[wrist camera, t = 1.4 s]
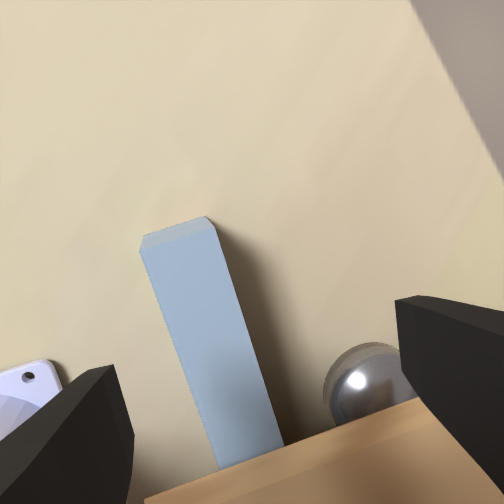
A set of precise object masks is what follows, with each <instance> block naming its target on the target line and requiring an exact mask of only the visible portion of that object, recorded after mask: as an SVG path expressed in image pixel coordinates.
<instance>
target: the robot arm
mask: <svg viewBox="0 0 504 504" xmlns="http://www.w3.org/2000/svg"><path fill="white" fill-rule="evenodd" d="M395 309H396V319H397V330H398V340H399V350H400V360H401V371H402V372H403V374H404V375H405V377H406V379H407V380H408V382H409V383H410V385H411V386H412V388H413V389H414V391H415V392H416V394H417V395H418V397H419V398H420V399H421V401H422V402H423V403H424V405H425V406H426V407H427V408H428V409H429V410H430V411H431V413H432V414H433V415H434V416H435V417H436V418H437V419H438V421H439V422H440V423H441V424H442V425H443V426H444V427H445V428H446V429H447V431H448V432H449V433H450V434H451V435H452V436H453V437H454V438H455V439H456V441H457V442H458V443H459V444H460V445H461V446H462V447H463V448H464V449H465V451H466V452H467V453H468V454H469V455H470V456H471V457H472V458H473V459H474V461H475V462H476V463H477V464H478V465H479V466H480V467H481V468H482V469H483V471H484V472H485V473H486V474H487V475H488V476H489V478H490V479H491V480H492V481H493V482H494V484H495V485H496V486H497V487H498V488H499V490H500V491H501V492H502V494H503V495H504V311H499V310H494V309H489V308H484V307H479V306H475V305H470V304H466V303H461V302H456V301H451V300H447V299H441V298H436V297H430V296H419V295H417V296H412V297H408V298H404V299H399V300H395ZM25 372H31V373H33V374H34V375H35V378H34V379H29V378H26V376H25V374H24V373H25ZM134 437H135V435H134V432H133V428H132V425H131V421H130V418H129V415H128V411H127V408H126V405H125V401H124V398H123V394H122V391H121V388H120V384H119V381H118V378H117V374H116V371H115V368H114V364H112V365H108V366H103V367H99V368H95V369H90V370H87V371H86V372H84V373H83V374H81V375H80V376H79V377H77V378H76V379H75V380H73V381H72V382H71V383H70V384H69V385H67V386H66V387H65V388H64V389H63V388H62V385H61V383H60V380H59V378H58V375H57V373H56V370H55V368H54V366H53V364H52V363H51V362H49V361H48V360H44V359H42V360H37V361H33V362H30V363H27V364H24V365H21V366H17V367H14V368H11V369H8V370H5V371H1V372H0V504H126V500H127V495H128V490H129V485H130V480H131V475H132V465H133V453H134Z"/></svg>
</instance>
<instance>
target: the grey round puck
mask: <svg viewBox="0 0 504 504" xmlns="http://www.w3.org/2000/svg"><path fill="white" fill-rule="evenodd" d="M417 397H418V395H417V394H416V392H415V391H414V389H413V388H412V386H411V385H410V383H409V382H408V380H407V379H406V377H405V375H404V374H403V372H402V371H401V360H400V352H399V351H398V350H397V349H395V348H394V347H392V346H390V345H387V344H384V343H378V342H370V343H364V344H360V345H358V346H355V347H353V348H351V349H349V350H348V351H346V352H345V353H344V354H342V355H341V356H340V357H339V358H338V359H337V360H336V361H335V363H334V364H333V365H332V367H331V368H330V370H329V372H328V374H327V377H326V379H325V383H324V389H323V398H324V404H325V407H326V409H327V411H328V413H329V415H330V416H331V418H332V419H333V421H334V422H335V423H336V425H337V426H338V427H339V426H342V425H344V424H347V423H350V422H352V421H355V420H358V419H360V418H363V417H366V416H368V415H371V414H374V413H377V412H379V411H382V410H385V409H387V408H390V407H393V406H395V405H398V404H401V403H403V402H406V401H409V400H411V399H414V398H417Z"/></svg>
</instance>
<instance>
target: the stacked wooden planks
mask: <svg viewBox="0 0 504 504" xmlns="http://www.w3.org/2000/svg"><path fill="white" fill-rule="evenodd" d="M144 504H504V495H503V494H502V492H501V491H500V490H499V488H498V487H497V486H496V485H495V484H494V482H493V481H492V480H491V479H490V478H489V476H488V475H487V474H486V473H485V472H484V471H483V469H482V468H481V467H480V466H479V465H478V464H477V463H476V462H475V461H474V459H473V458H472V457H471V456H470V455H469V454H468V453H467V452H466V451H465V449H464V448H463V447H462V446H461V445H460V444H459V443H458V442H457V441H456V439H455V438H454V437H453V436H452V435H451V434H450V433H449V432H448V431H447V429H446V428H445V427H444V426H443V425H442V424H441V423H440V422H439V421H438V419H437V418H436V417H435V416H434V415H433V414H432V413H431V411H430V410H429V409H428V408H427V407H426V406H425V405H424V403H423V402H422V401H421V399H420V398H419V397H417V398H414V399H411V400H409V401H406V402H403V403H401V404H398V405H395V406H393V407H390V408H387V409H385V410H382V411H379V412H377V413H374V414H371V415H368V416H366V417H363V418H360V419H358V420H355V421H352V422H350V423H347V424H344V425H342V426H339V427H336V428H334V429H331V430H328V431H325V432H323V433H320V434H317V435H315V436H312V437H309V438H307V439H304V440H301V441H299V442H296V443H293V444H291V445H288V446H285V447H282V448H280V449H277V450H274V451H272V452H269V453H266V454H264V455H261V456H258V457H256V458H253V459H250V460H248V461H245V462H242V463H239V464H237V465H234V466H231V467H229V468H226V469H223V470H221V471H218V472H215V473H213V474H210V475H207V476H205V477H202V478H199V479H196V480H194V481H191V482H188V483H186V484H183V485H180V486H178V487H175V488H172V489H170V490H167V491H164V492H162V493H159V494H156V495H153V496H151V497H148V498H145V499H144Z"/></svg>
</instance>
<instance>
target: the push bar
mask: <svg viewBox="0 0 504 504" xmlns="http://www.w3.org/2000/svg"><path fill="white" fill-rule="evenodd" d="M139 252H140V254H141V257H142V260H143V263H144V265H145V268H146V271H147V273H148V276H149V279H150V282H151V284H152V287H153V290H154V292H155V295H156V298H157V301H158V303H159V306H160V309H161V311H162V314H163V317H164V320H165V322H166V325H167V328H168V330H169V333H170V336H171V338H172V341H173V344H174V347H175V349H176V352H177V355H178V357H179V360H180V363H181V366H182V368H183V371H184V374H185V376H186V379H187V382H188V385H189V387H190V390H191V393H192V395H193V398H194V401H195V404H196V406H197V409H198V412H199V414H200V417H201V420H202V423H203V425H204V428H205V431H206V433H207V436H208V439H209V441H210V444H211V447H212V450H213V452H214V455H215V458H216V460H217V463H218V466H219V469H220V471H221V470H223V469H226V468H229V467H231V466H234V465H237V464H239V463H242V462H245V461H248V460H250V459H253V458H256V457H258V456H261V455H264V454H266V453H269V452H272V451H274V450H277V449H280V448H282V447H285V446H284V443H283V440H282V437H281V434H280V430H279V427H278V424H277V421H276V418H275V415H274V412H273V409H272V405H271V402H270V399H269V396H268V393H267V390H266V387H265V383H264V380H263V377H262V374H261V371H260V368H259V365H258V362H257V358H256V355H255V352H254V349H253V346H252V343H251V340H250V336H249V333H248V330H247V327H246V324H245V321H244V318H243V315H242V311H241V308H240V305H239V302H238V299H237V296H236V293H235V289H234V286H233V283H232V280H231V277H230V274H229V271H228V268H227V264H226V261H225V258H224V255H223V252H222V249H221V246H220V242H219V239H218V236H217V233H216V230H215V227H214V226H213V224H212V223H211V222H210V221H209V220H208V219H207V218H206V217H205V216H203V217H200V218H196V219H193V220H190V221H187V222H184V223H181V224H178V225H175V226H172V227H168V228H165V229H162V230H159V231H156V232H153V233H150V234H147V235H144V237H143V240H142V243H141V247H140V250H139Z"/></svg>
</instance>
